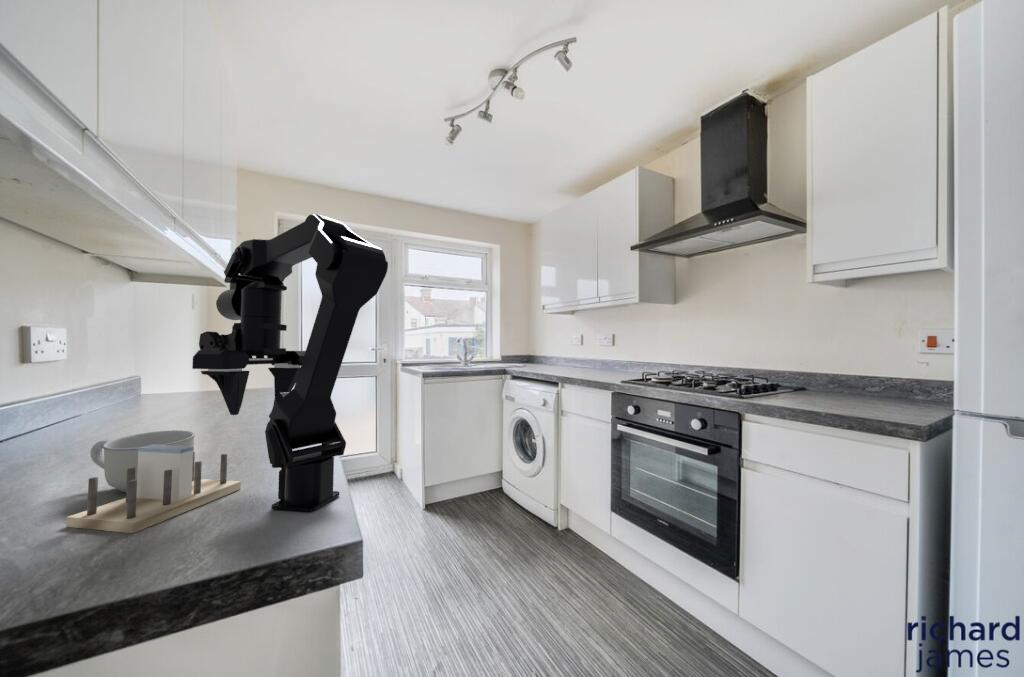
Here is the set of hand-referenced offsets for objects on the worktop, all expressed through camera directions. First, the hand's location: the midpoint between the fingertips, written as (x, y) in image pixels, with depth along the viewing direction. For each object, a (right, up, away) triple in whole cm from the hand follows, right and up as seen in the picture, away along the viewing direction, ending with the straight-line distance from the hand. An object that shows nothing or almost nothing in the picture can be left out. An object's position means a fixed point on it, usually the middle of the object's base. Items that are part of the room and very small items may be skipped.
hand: (258, 410), depth 64 cm
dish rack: (-7, -12, -10) cm, 17 cm away
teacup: (-18, -12, -2) cm, 21 cm away
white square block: (-7, -10, -10) cm, 16 cm away
